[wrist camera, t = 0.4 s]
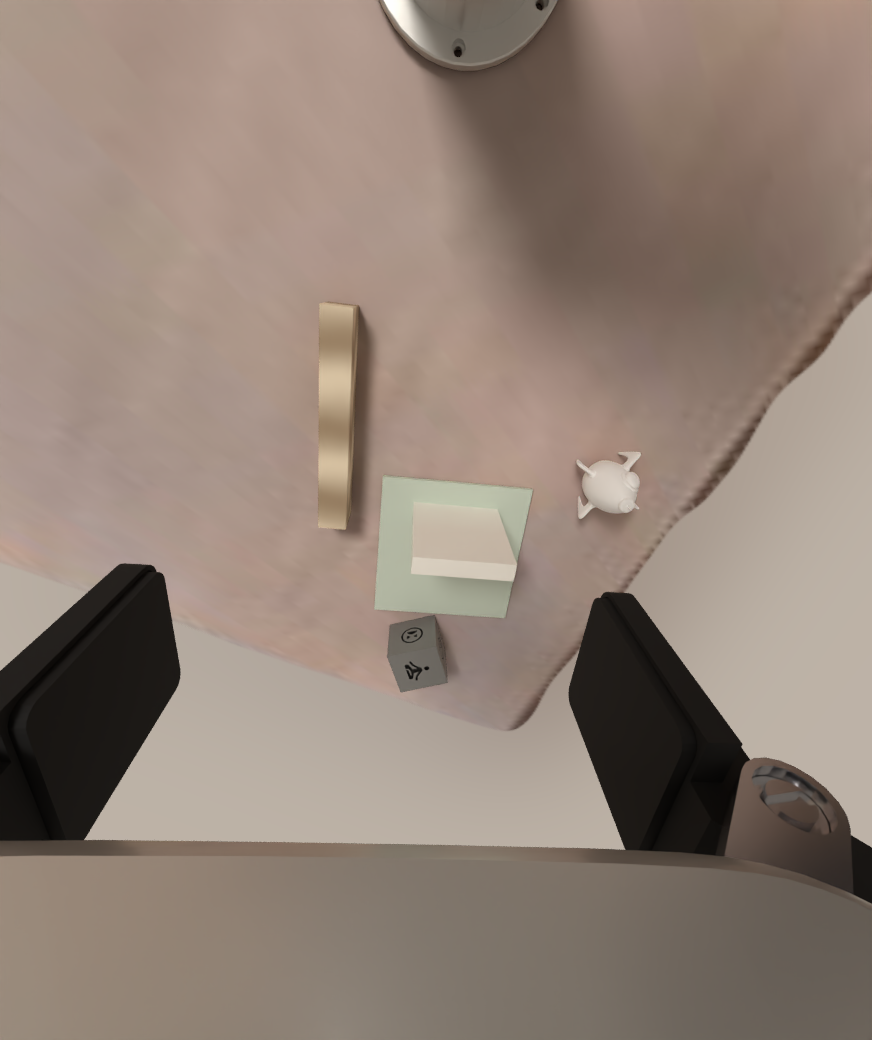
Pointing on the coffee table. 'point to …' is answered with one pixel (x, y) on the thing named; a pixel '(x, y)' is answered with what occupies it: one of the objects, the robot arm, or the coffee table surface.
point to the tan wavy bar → (336, 411)
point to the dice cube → (417, 654)
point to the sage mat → (440, 591)
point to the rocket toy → (610, 486)
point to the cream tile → (460, 543)
